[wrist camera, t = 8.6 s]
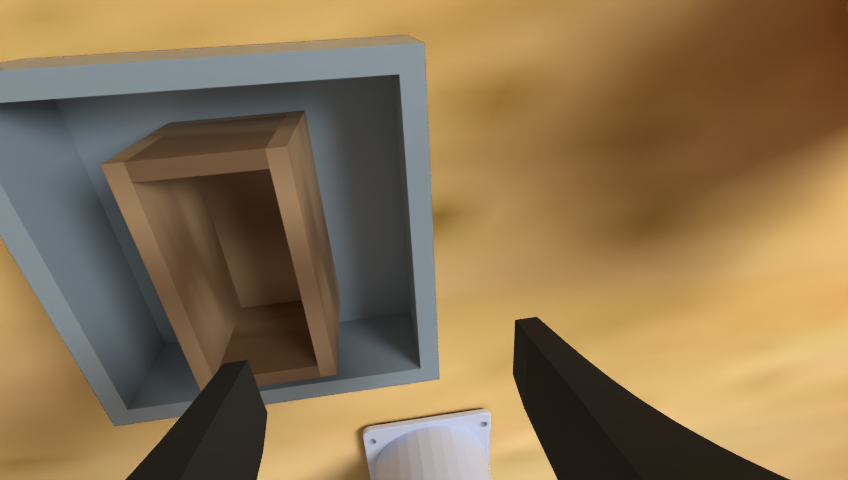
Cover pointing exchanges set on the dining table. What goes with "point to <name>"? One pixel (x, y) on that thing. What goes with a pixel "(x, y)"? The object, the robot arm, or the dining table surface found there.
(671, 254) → the dining table surface
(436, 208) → the dining table surface
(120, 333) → the slate crate
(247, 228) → the walnut crate
